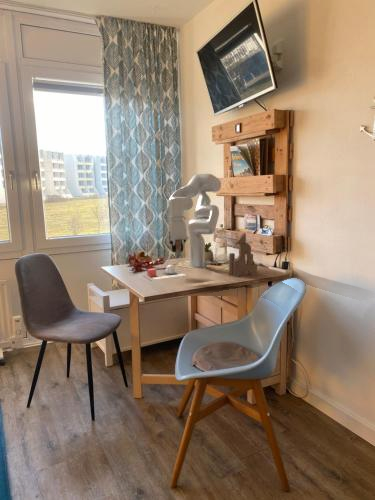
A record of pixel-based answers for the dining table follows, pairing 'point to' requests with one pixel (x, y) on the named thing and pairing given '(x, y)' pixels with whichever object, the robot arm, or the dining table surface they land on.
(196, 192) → the robot arm
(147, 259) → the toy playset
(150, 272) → the board
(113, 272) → the dining table surface
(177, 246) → the brown rounded capsule
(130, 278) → the dining table surface
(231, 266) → the wooden toy
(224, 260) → the dining table surface
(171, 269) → the dome
